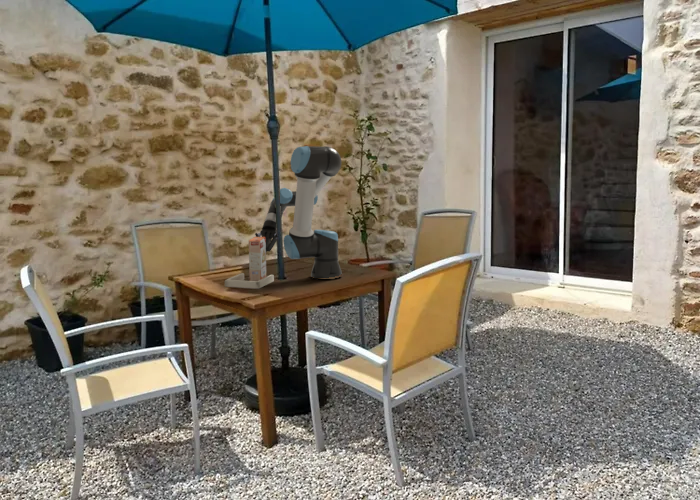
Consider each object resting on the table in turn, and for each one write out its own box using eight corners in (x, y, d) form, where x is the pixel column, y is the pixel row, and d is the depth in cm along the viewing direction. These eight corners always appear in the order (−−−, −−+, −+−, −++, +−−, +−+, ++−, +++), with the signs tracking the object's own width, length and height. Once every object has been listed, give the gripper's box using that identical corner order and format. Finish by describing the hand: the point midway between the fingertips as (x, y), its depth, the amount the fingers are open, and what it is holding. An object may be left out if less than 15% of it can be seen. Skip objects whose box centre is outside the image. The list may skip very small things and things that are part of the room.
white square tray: (274, 281, 281) (273, 274, 280) (258, 288, 264) (258, 282, 264) (241, 279, 285) (241, 273, 285) (224, 286, 269) (224, 280, 269)
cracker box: (262, 285, 272) (260, 240, 268) (249, 285, 272) (247, 240, 269) (267, 278, 286) (266, 236, 282) (255, 278, 286) (253, 236, 282)
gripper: (285, 228, 300) (273, 267, 287) (262, 228, 303) (248, 265, 290) (281, 219, 294) (268, 258, 281) (257, 219, 298) (243, 257, 285)
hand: (258, 262), depth 286 cm, fingers closed
